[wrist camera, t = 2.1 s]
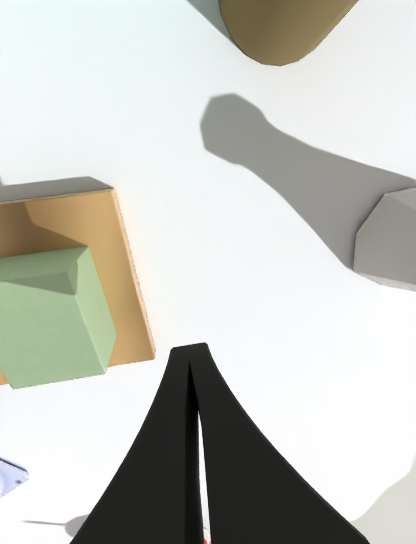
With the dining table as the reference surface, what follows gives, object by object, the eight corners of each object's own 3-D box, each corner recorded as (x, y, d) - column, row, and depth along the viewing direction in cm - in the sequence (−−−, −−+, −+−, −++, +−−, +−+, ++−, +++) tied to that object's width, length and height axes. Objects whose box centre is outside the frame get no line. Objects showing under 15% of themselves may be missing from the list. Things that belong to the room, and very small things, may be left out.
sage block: (89, 245, 15) (66, 271, 12) (117, 334, 17) (105, 374, 14) (-3, 257, 14) (-52, 288, 11) (41, 346, 17) (12, 390, 14)
